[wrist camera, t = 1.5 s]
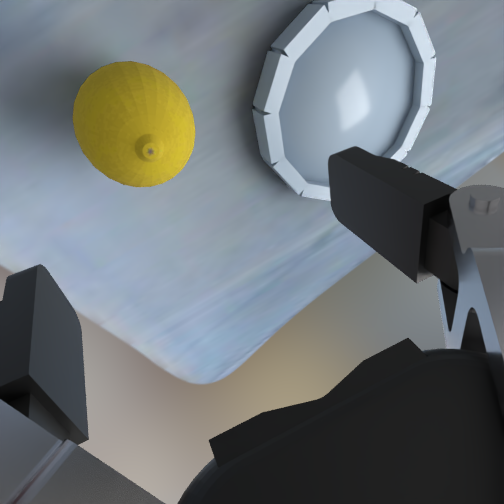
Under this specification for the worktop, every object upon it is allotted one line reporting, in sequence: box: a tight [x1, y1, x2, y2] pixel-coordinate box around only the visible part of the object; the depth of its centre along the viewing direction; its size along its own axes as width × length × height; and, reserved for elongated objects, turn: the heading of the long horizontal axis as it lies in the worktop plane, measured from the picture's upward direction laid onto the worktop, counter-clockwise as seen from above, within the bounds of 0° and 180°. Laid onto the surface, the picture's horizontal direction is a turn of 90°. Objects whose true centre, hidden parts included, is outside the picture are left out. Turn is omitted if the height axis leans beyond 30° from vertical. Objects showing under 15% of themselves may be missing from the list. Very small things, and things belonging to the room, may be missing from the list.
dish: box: [252, 0, 436, 201], centre depth 26 cm, size 13×13×2 cm
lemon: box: [73, 61, 195, 187], centre depth 19 cm, size 6×6×8 cm
